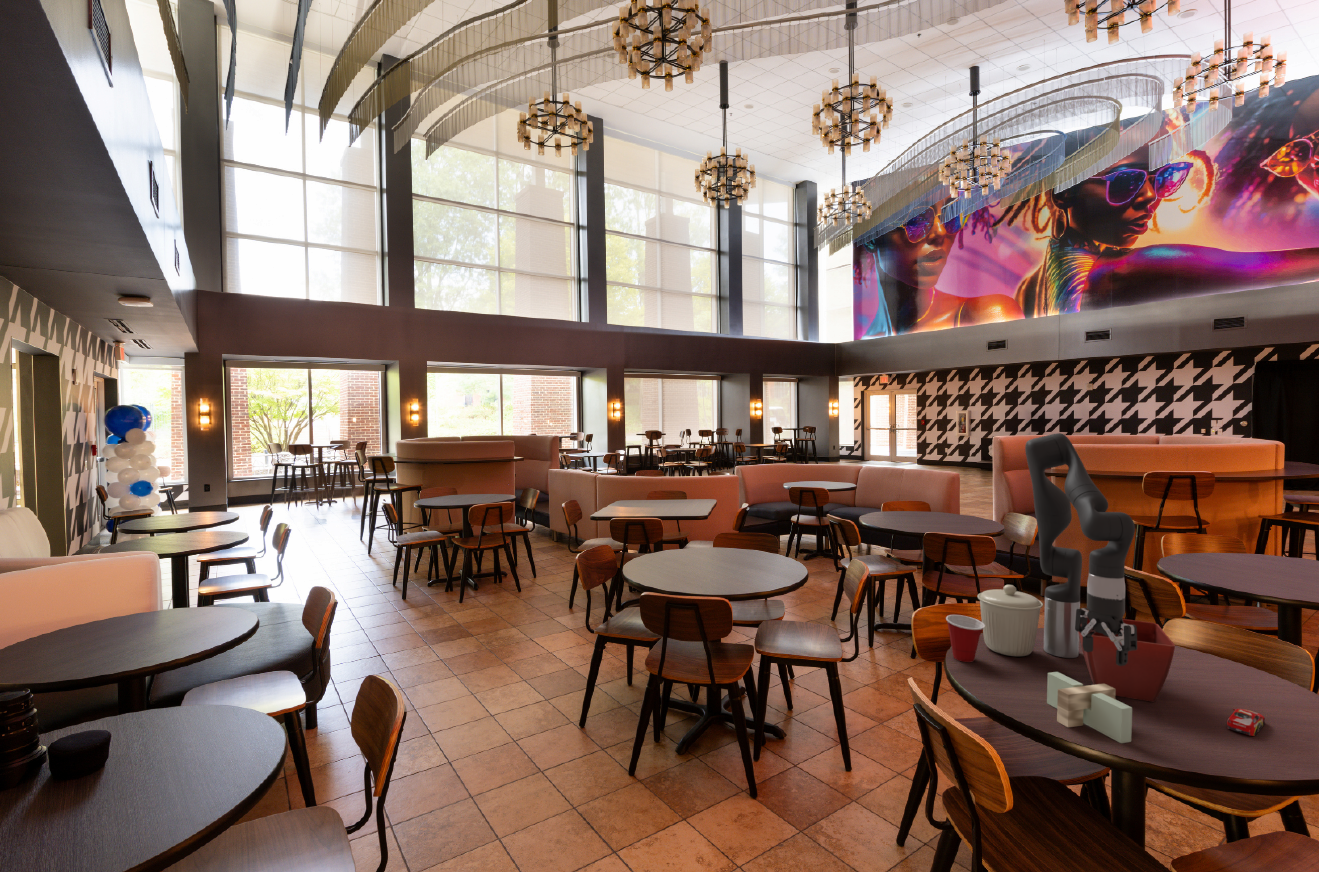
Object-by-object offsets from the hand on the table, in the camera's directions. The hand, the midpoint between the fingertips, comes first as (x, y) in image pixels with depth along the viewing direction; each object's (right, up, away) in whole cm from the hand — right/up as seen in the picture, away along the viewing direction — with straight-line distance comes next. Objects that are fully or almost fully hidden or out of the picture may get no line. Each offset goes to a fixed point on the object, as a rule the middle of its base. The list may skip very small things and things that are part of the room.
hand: (1104, 658), depth 151 cm
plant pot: (+17, -15, +18) cm, 29 cm away
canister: (+2, -14, +44) cm, 47 cm away
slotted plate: (-5, -15, 0) cm, 16 cm away
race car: (+32, -16, -3) cm, 36 cm away
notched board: (-5, -15, 0) cm, 16 cm away
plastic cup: (-16, -14, +38) cm, 43 cm away
